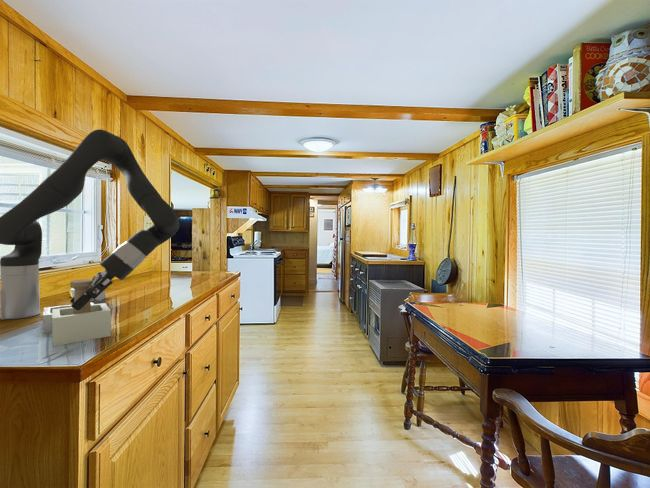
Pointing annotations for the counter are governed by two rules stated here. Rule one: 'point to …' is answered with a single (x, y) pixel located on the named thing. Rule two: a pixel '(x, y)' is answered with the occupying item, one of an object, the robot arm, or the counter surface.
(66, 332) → the cradle block
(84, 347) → the counter surface
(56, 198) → the robot arm
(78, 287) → the handle
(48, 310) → the bore block
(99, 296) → the tapered grey rod
